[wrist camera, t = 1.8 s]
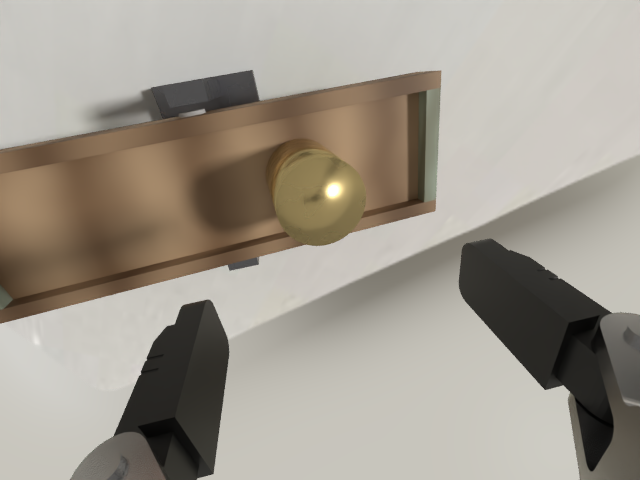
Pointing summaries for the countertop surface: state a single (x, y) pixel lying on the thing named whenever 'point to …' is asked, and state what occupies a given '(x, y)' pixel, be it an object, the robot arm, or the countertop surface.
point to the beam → (198, 189)
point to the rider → (314, 192)
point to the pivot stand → (209, 104)
